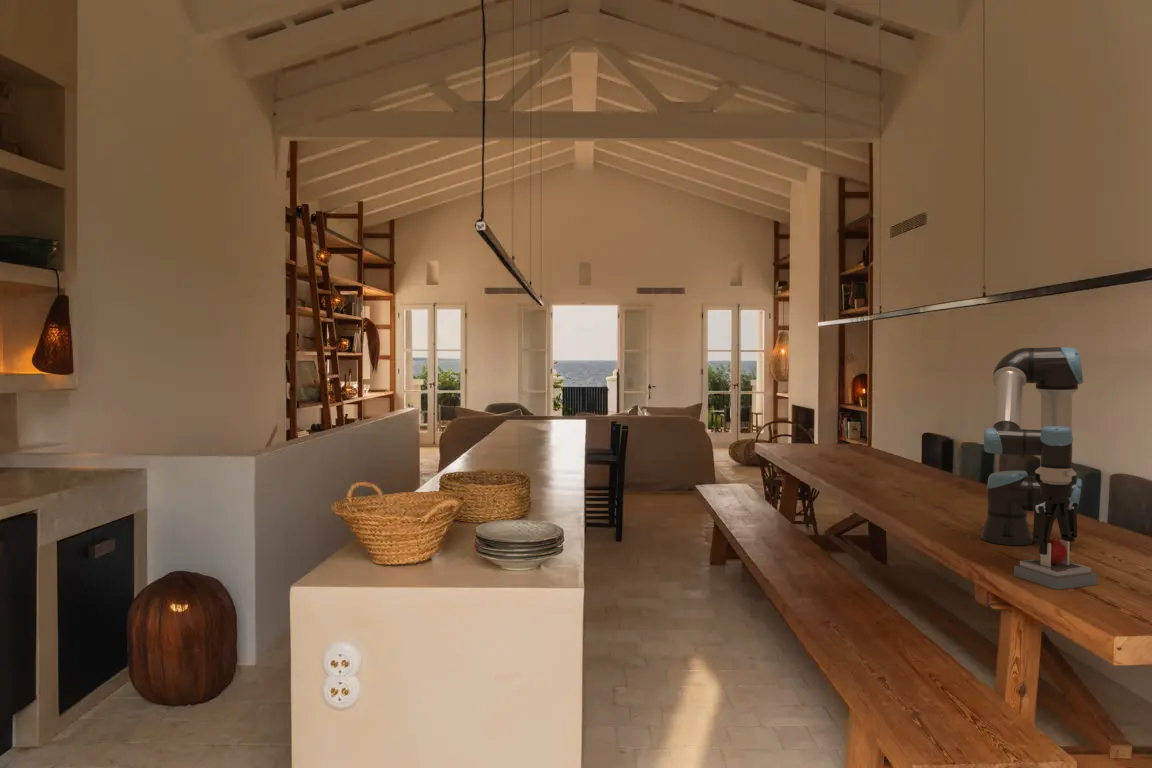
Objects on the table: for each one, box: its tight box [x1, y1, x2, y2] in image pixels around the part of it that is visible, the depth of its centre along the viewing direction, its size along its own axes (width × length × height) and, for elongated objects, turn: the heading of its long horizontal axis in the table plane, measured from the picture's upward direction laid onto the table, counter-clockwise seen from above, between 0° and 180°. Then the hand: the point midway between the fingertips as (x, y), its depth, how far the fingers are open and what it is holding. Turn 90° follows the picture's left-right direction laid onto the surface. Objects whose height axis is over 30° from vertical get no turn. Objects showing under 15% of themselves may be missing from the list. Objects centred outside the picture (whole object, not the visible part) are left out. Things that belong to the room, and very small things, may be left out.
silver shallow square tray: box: [1013, 557, 1098, 591], centre depth 220 cm, size 14×14×4 cm
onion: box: [1048, 537, 1067, 566], centre depth 219 cm, size 6×6×8 cm
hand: (1054, 564), depth 219 cm, fingers closed on onion, 6 cm apart
